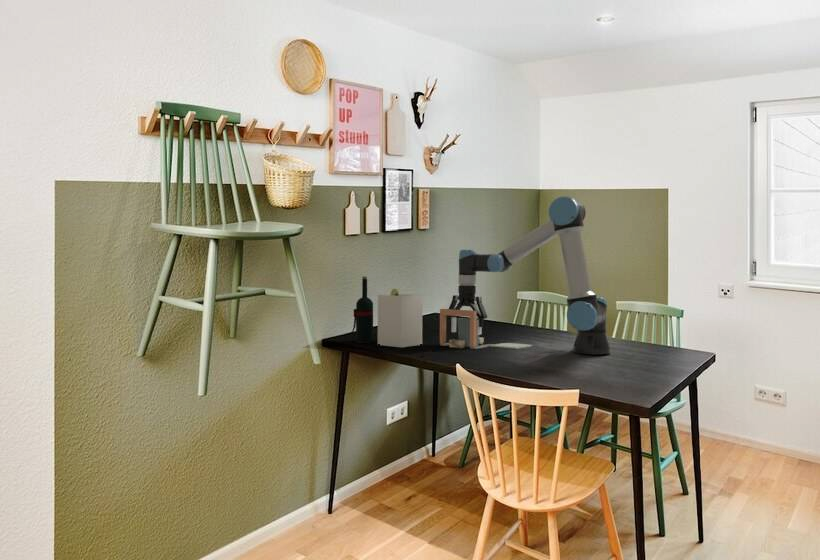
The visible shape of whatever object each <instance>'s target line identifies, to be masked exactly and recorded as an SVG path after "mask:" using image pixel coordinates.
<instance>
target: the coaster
mask: <svg viewBox="0 0 820 560" xmlns="http://www.w3.org/2000/svg"><path fill="white" fill-rule="evenodd" d="M491 347H492V348H501V349H511V350H512V349H514V350H519V349H524V348H530V347H533V344H525V343H517V342H515V343H514V342H503V343H501V342H500V343H496V344H495V345H491V346H490V348H491Z"/></svg>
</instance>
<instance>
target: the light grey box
mask: <svg viewBox="0 0 820 560" xmlns="http://www.w3.org/2000/svg"><path fill="white" fill-rule="evenodd" d="M390 294H391V293H390ZM390 294H377V345H378V344H380V345H379V346H385V347H386V346H387V347H395V348H407V347H413V346H421V345H420V344H422V345H423V297H424V296H423V294H408V293H407V294H406V293H404V294H403V293H398V296H394V295H390Z"/></svg>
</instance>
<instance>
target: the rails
mask: <svg viewBox="0 0 820 560" xmlns="http://www.w3.org/2000/svg"><path fill="white" fill-rule="evenodd" d="M439 345H440V346H443V347H444V346H445V347H446V346H449V342H446V344H440V343H439ZM491 345H495V344H493V343H487V344H481V345H478V346H476V347H469V348H470V349H471V350H473V349H474V350H477V349H483V348H488V347H489V348H491Z"/></svg>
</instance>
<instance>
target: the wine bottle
mask: <svg viewBox="0 0 820 560" xmlns="http://www.w3.org/2000/svg"><path fill="white" fill-rule="evenodd" d="M361 283H362V284H361V285H362V286H361V287H362V288H361V292H362V293H361V295H362V296H361V297H360V298H359V299H358V300H357V301H356V306H355V308H353V318H354V321H353V328H352V331H351V333H353V332H354V330H355V342H356V341H357V342H361V343H365V342H372V341H373V342H374V302H373V300H372V299H371V298H369V297H368V276H362V280H361Z"/></svg>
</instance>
